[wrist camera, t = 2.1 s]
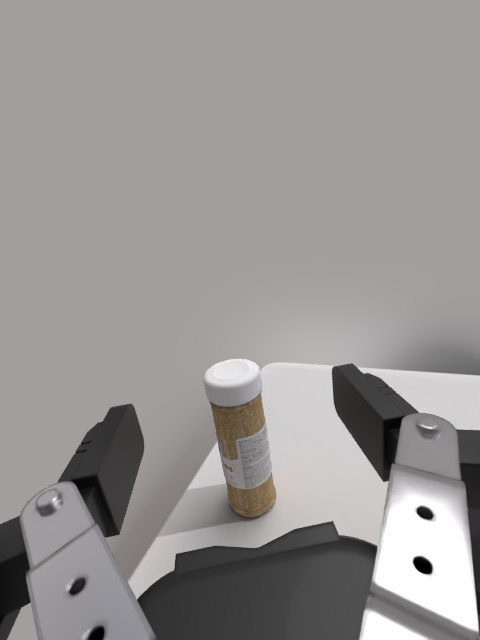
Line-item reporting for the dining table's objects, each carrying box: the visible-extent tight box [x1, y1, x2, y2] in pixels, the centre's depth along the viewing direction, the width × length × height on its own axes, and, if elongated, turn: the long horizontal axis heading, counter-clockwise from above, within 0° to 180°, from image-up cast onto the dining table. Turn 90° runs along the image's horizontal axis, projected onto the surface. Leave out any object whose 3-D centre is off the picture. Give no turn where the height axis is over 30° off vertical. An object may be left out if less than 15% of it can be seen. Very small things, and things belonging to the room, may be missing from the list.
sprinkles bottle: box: [204, 359, 276, 517], centre depth 26 cm, size 5×5×13 cm
